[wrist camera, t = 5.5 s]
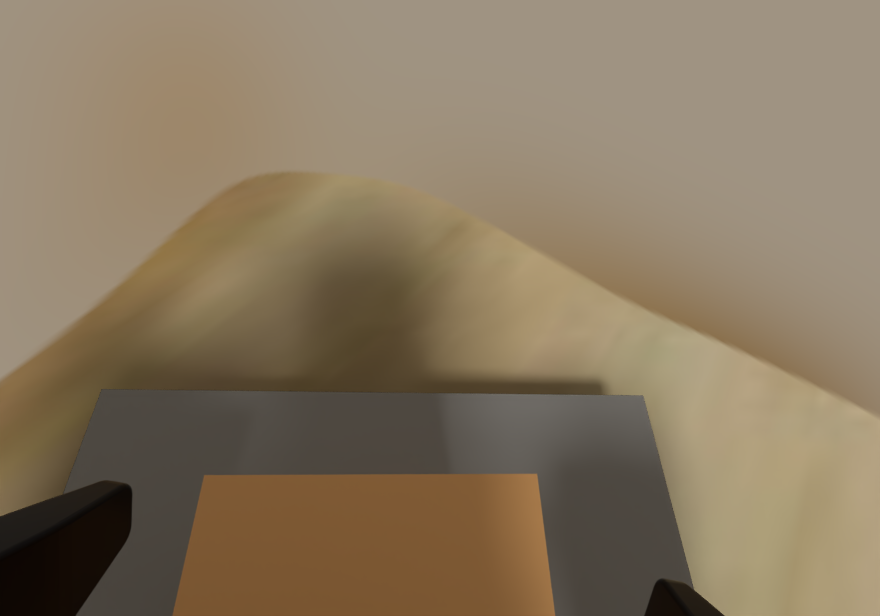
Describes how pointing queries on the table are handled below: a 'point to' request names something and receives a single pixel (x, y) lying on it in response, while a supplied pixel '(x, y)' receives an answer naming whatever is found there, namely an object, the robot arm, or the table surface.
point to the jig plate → (390, 452)
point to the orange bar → (367, 546)
